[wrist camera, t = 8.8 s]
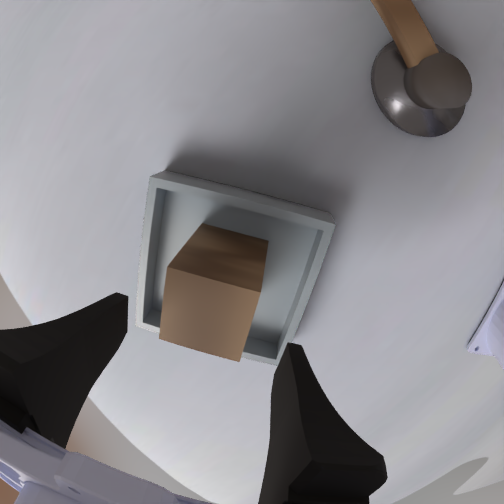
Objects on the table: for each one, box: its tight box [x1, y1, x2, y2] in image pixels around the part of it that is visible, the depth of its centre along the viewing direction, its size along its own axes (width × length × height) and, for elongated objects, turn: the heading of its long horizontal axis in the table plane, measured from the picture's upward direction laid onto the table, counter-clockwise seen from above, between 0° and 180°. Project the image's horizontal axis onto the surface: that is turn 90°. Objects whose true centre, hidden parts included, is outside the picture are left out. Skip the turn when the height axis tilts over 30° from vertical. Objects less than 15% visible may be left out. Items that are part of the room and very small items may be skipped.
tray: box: [135, 170, 336, 366], centre depth 19 cm, size 10×10×2 cm
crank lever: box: [371, 0, 472, 109], centre depth 10 cm, size 10×3×6 cm, turn 26°
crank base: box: [371, 41, 465, 137], centre depth 14 cm, size 6×6×1 cm
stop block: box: [159, 223, 269, 362], centre depth 16 cm, size 4×4×6 cm
